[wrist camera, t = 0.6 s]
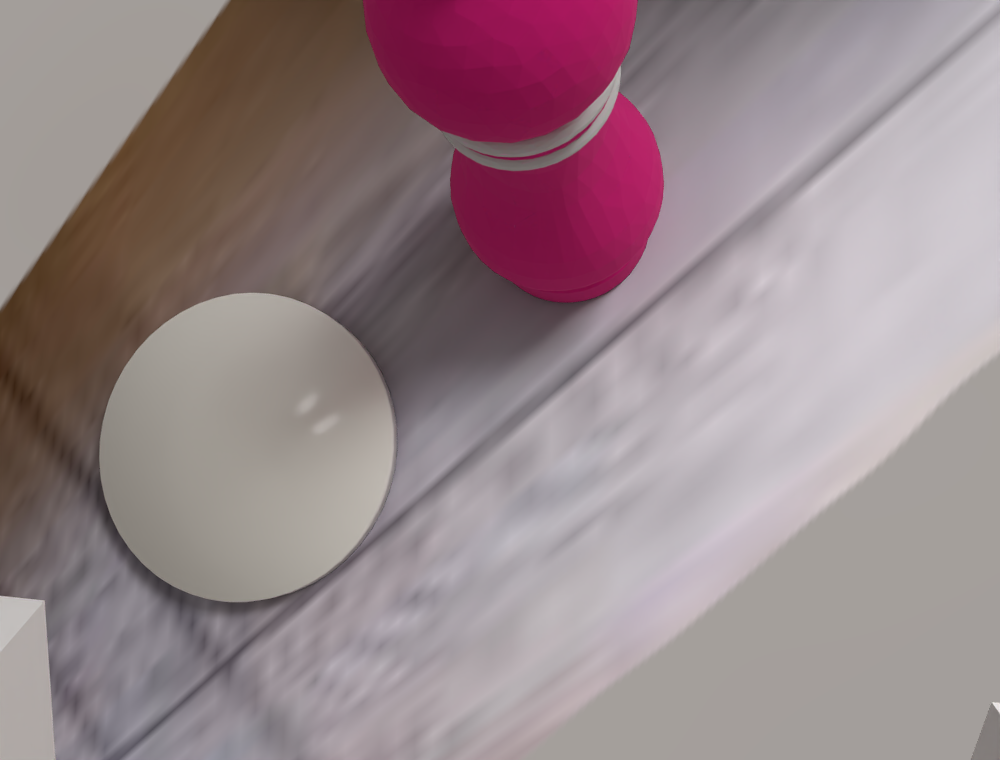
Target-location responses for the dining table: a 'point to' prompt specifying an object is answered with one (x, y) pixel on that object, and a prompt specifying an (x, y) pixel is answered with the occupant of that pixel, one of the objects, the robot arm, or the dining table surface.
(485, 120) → the pepper mill
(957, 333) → the dining table surface
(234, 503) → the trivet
